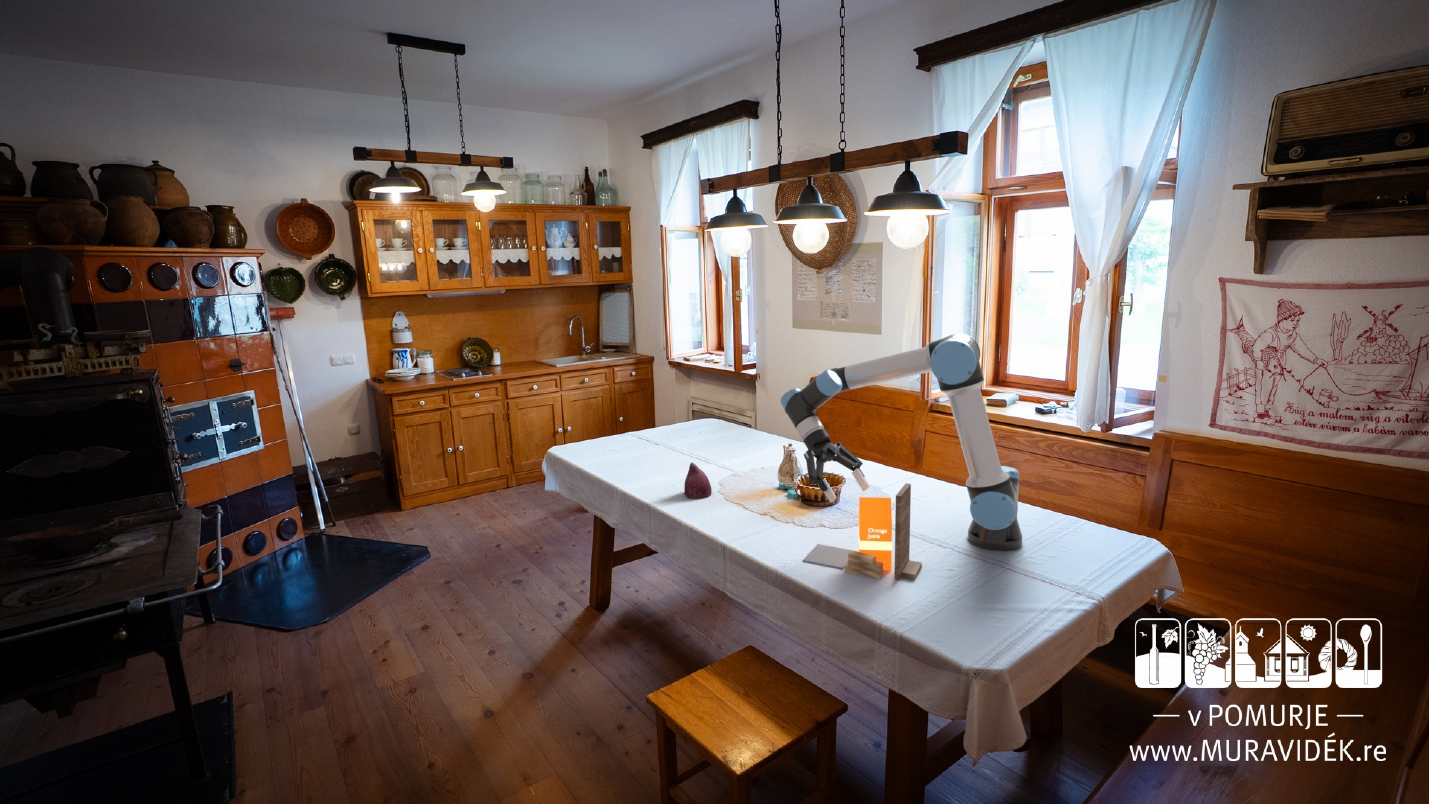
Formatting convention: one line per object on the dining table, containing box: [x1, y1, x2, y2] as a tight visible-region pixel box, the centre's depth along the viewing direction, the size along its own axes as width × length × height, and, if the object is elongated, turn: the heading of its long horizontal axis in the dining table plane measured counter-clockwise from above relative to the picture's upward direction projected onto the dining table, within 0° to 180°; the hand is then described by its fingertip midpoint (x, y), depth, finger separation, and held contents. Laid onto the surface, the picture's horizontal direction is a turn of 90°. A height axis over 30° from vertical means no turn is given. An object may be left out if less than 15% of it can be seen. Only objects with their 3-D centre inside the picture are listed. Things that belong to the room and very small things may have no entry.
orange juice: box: [857, 496, 893, 571], centre depth 187 cm, size 8×9×20 cm
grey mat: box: [802, 543, 852, 570], centre depth 195 cm, size 12×12×1 cm
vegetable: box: [683, 462, 713, 500], centre depth 248 cm, size 10×10×15 cm
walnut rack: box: [843, 482, 923, 581], centre depth 183 cm, size 18×12×24 cm, turn 60°
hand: (850, 494), depth 192 cm, fingers open, 13 cm apart
